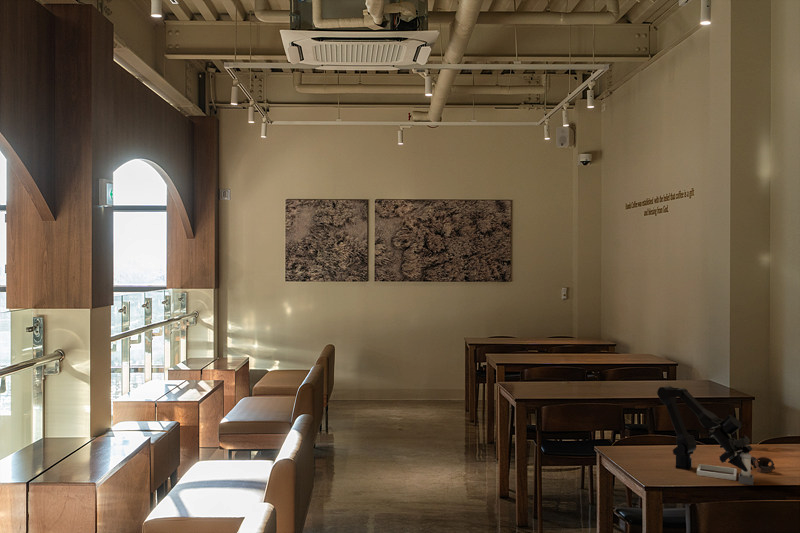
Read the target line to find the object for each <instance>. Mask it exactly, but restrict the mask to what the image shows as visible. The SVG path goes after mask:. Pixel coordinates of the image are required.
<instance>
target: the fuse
mask: <svg viewBox="0 0 800 533" xmlns="http://www.w3.org/2000/svg"><path fill="white" fill-rule="evenodd" d="M741 457H742V462H743V464H744V465H745V467H746V468H747V470H748V471H747V472H745V471H743V470H742V469H741V473H742V474H741V476H742V477H749V478H751V475H752V473H751V472H752V470H751V466H752V465H751V457H752V454H751V453H750V452H749V453H741Z"/></svg>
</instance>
